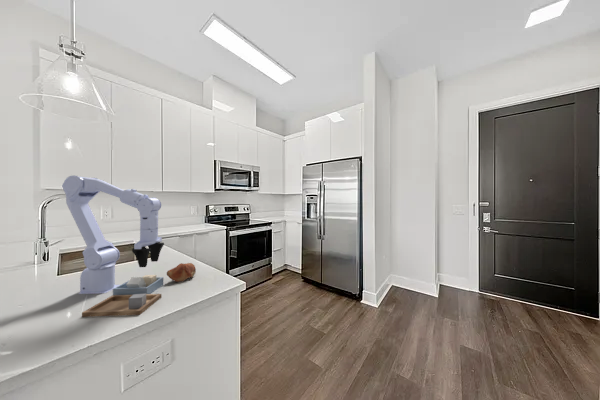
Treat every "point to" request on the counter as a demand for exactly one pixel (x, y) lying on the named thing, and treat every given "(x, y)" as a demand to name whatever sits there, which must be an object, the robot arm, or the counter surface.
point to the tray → (119, 306)
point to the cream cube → (149, 279)
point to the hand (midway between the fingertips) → (148, 264)
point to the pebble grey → (136, 282)
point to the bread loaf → (182, 272)
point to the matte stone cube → (137, 301)
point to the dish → (150, 289)
